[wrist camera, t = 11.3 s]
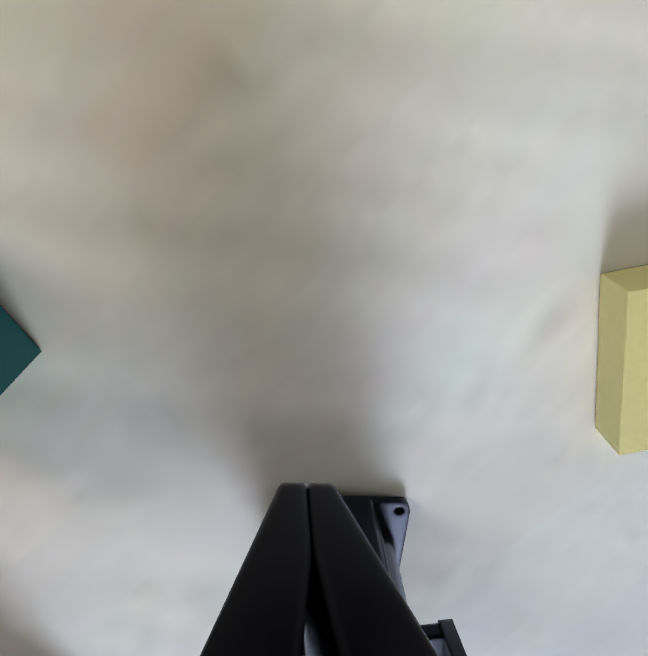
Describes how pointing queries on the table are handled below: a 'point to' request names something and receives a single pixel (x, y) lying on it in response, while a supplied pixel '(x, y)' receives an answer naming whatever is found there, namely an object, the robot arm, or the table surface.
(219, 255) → the table surface
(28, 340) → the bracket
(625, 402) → the sticky notes
